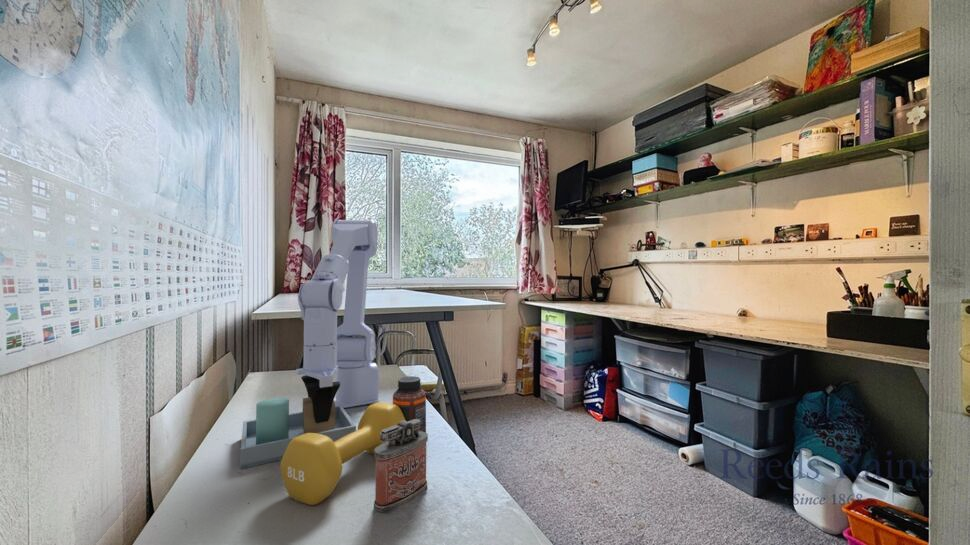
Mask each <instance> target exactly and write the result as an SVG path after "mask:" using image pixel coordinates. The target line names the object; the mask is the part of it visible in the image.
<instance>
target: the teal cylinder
mask: <svg viewBox="0 0 970 545" xmlns="http://www.w3.org/2000/svg"><path fill="white" fill-rule="evenodd" d="M255 408H256V409H255V415H256V416H255V420H256V445H258V444H263V443H268V442H273V441H278V440H283V439H288V438H289V414H290V399H289V398H286V397H285V398H284V397H275V398H269V399H265V400H264V399H263V400H261V401H258V402H257V403H256V407H255Z"/></svg>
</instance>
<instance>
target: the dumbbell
mask: <svg viewBox="0 0 970 545" xmlns="http://www.w3.org/2000/svg"><path fill="white" fill-rule="evenodd" d="M401 420H405V418H404V416H403V413H402V411H401V409H400V408H399V407H398V406H397V405H395V404H393V402H392V403H391V402H387V401H379V402H376V403H371V404H369V406H368V407H366V409H365V411H364V412H363V414H362V415H361V417H360V419H359V422H358V425H357V429H356V431H355V432H352V433H350V434H348V435H346V436H344V437H342V438H340V439H339V440H337V441H335V442H333V440H332V439H331V438H329V437H328V436H325V435H322V434H318V433H306V434H303V435H300V436H298V437H295V438H294V439H292V440H291V441H290V443H289V444H288V446H287V448H286V451H285V453H284V455H283V458H282V460H280V465H279V471H280V473H281V478H282V481H283V484H284V486H285V490H286V493H288V495H289V497H290V498H292V499H293V500H295V501H297V502H300V503H303V504H305V505H308V506H315V505H316V506H317V505H318V504H319V503H321V502H322V501H324V500H326V499H327V498H328V497H329V496H330V495H331V494H332V493H333V492H334V490H335V489H336V486H337V485H338V483H339V480H340V478H341V476H342V473H343V464H345V463H347V462H349V461H351V460H352V459H354V458H355V457H358V456H359V455H361V454H362V453H364V452H367V453H369V454H371V455H374V449H375V448H376V447H377V446H379V445H381V444H383V443H385V442H382V441H380V432H381V431H382V430H383V429H386V428H389V427H391V426H394V425H395V426H397V424H398V422H399V421H401ZM405 421H406V420H405ZM386 442H387V441H386Z"/></svg>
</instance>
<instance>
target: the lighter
mask: <svg viewBox="0 0 970 545" xmlns="http://www.w3.org/2000/svg"><path fill="white" fill-rule="evenodd" d="M419 428H420V420H418V419H414V420H411V421H408V422H407V421H405V420H401V421H399V422H398V424H397V426H395V425H394V426H391V427H389V428H386V429H383V430H382V431H381V432H380V441H382V442H385V443H383V444H381V445H379V446H377V447H376V448H375V449H374V454H373V456H374V458H375V494H374V495H375V497H374V501H373V510H374V512H375V513H376V514H379V515H386V514H389V513H392V512H394V511H397V510H399V509H401V508H403V507H405V506H407V505H408V504H411V503H412V502H414V501H415V500H417V499H418V498H420V496H422V495H423V494H424V493H426V492H427V491H428V480H427V442H428V439H429V438H428V436H429V434H428V433H427V431H426V432H423V431H419ZM386 441H387V442H386ZM426 490H427V491H426ZM425 491H426V492H425Z"/></svg>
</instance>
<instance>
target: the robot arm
mask: <svg viewBox="0 0 970 545" xmlns="http://www.w3.org/2000/svg"><path fill="white" fill-rule="evenodd" d="M378 233H379V232H378V225H377V223H376V221H375V220H373V219H365V220H364V219H338V218H337V219H334V221H333V222H332V223H331V228H330V235H331V236H330V237H331V239H332V242H333V243H332V246H331V249H330V252H329V254H326V255H324V256H323V257H322V258H321V259H320V261H319V263H318V265H317V266H316V269H315V271H314V273H313V275H312V277H311V279H310V280H306V281H305V282H304V283H302V284H301V285H300V287H299V291H298V295H297V301H298V305H299V306H298V307H299V309H300V318H301V320H303V366H302V368H301V367H300V368H296V369H295V374H296V375H298V376H299V375H302V376H301V380H302V382H303V384H304V387H305V389H306V393H307V398H309V397H311V401H312V406H313V413H314V418H315V422H316V423H321V422H326V421H328V420H329V417H330V413H331V408H332V404H333V400H334V401H335V406H339V405H342V407H343V408H344V409H347V408H351V407H358V406H363V405H371V404H374V403H377V402H380V399H379V378H380V377H379V367H378V365H377V363H376V362H373V361H374V359H375V356H376V350H377V349H376V347H377V346H376V340H375V339H376V334H375V331H374V330H373V329H372V328H370V327H369V326H368V325H366V324H365V316H366V314H365V313H366V299H367V287H368V269H369V264H370V259H371V258H373V257H374V256H376V255H377V251H378V239H379V238H378V237H379V236H378V235H379V234H378ZM345 280H346V288H344V285H343V284H344V283H345ZM344 289H345V300H344V301H345V302H344V310H343V311H344V312H343V323H342V324H340V325H339V326H338V310H339V309H340V308H341V306H342V303H343V298H344V297H343V294H344ZM350 336H351V337H350ZM334 375H335V381H334V380H333V378H334Z"/></svg>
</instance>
